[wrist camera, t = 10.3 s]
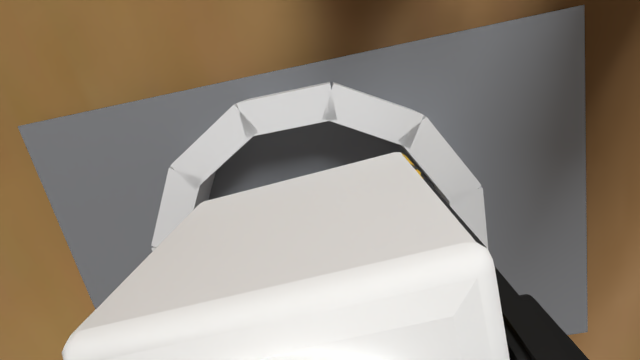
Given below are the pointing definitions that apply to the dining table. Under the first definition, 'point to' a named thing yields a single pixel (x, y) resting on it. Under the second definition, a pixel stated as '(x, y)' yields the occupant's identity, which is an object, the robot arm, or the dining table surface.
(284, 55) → the dining table surface
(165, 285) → the medicine bottle
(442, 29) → the dining table surface
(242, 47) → the dining table surface
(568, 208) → the ring holder
